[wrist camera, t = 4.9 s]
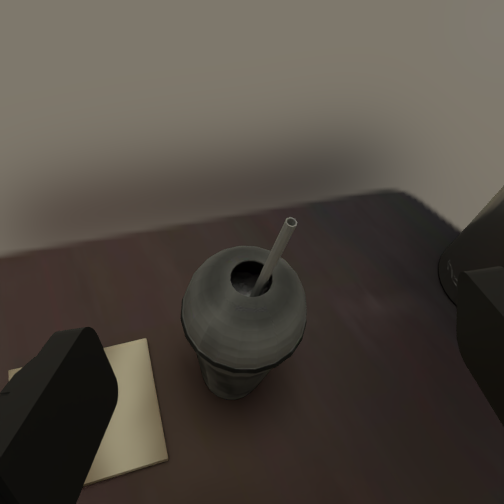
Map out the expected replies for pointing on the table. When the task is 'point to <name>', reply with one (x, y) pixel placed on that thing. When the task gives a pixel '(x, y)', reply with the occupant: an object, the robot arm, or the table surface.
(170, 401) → the table surface
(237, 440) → the table surface
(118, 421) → the birch coaster
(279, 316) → the beverage cup
